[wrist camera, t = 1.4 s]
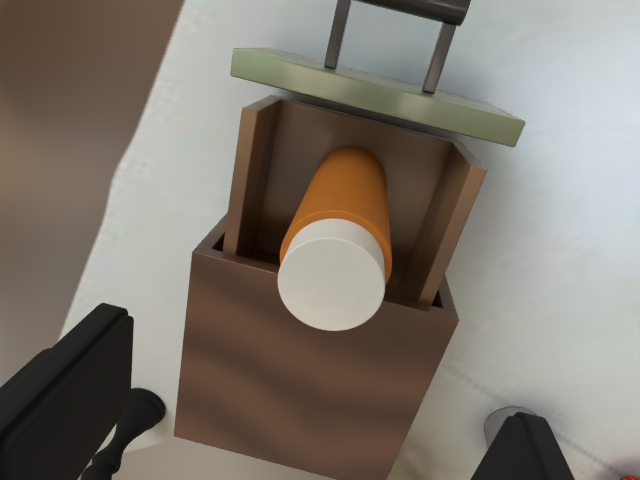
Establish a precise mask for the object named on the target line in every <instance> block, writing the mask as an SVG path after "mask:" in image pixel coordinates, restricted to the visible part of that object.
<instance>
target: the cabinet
mask: <svg viewBox="0 0 640 480" xmlns="http://www.w3.org/2000/svg"><path fill="white" fill-rule="evenodd" d="M227 215H228V212H227V214H226V215H225V216H224V217H223V218H222V219H221V220H220V221H219V222H218V224H217V225H216V226H215V227H214V228H213V229H212V230H211V231H210V233H209V234H208V235H207V236H206V237H205V238H204V239H203V240H202V241H201V243H200V244H199V245H198V246H197V247H196V248H195V249H194V250H193V252H192V261H191V271H190V280H189V290H188V300H187V310H186V320H185V329H184V339H183V349H182V359H181V368H180V378H179V388H178V398H177V408H176V417H175V427H174V436H175V437H179V438H183V439H186V440H190V441H194V442H198V443H202V444H205V445H209V446H213V447H217V448H220V449H224V450H228V451H232V452H235V453H240V454H243V455H247V456H250V457H254V458H258V459H262V460H266V461H269V462H273V463H277V464H281V465H284V466H288V467H292V468H296V469H300V470H303V471H307V472H311V473H315V474H318V475H322V476H326V477H330V478H334V479H338V480H386V479H387V477H388V475H389V473H390V471H391V468H392V466H393V464H394V462H395V460H396V458H397V455H398V453H399V451H400V449H401V447H402V444H403V442H404V440H405V438H406V436H407V433H408V431H409V429H410V427H411V425H412V422H413V420H414V418H415V416H416V414H417V411H418V409H419V407H420V405H421V403H422V401H423V398H424V396H425V394H426V392H427V390H428V387H429V385H430V383H431V381H432V379H433V376H434V374H435V372H436V370H437V368H438V365H439V363H440V361H441V359H442V357H443V354H444V352H445V350H446V348H447V346H448V344H449V341H450V339H451V337H452V335H453V333H454V330H455V328H456V326H457V324H458V322H459V319H458V315H457V313H456V309H455V306H454V302H453V299H452V296H451V293H450V289H449V286H448V283H447V279H446V276H445V274H444V276H443V279H442V281H441V284H440V286H439V288H438V291H437V293H436V296H435V298H434V300H433V303H432V305H431V306H430V305H427V304H423V303H419V302H415V301H411V300H407V299H403V298H400V297H396V296H392V295H388V294H384V298H383V301H382V303H381V305H380V307H379V309H378V310H377V311H376V313H375V314H374V315H373V316H372V317H371V318H370V319H369V320H367V321H366V322H364V323H363V324H361V325H359V326H357V327H354V328H351V329H347V330H341V331H328V330H322V329H318V328H314V327H312V326H309V325H307V324H305V323H303V322H302V321H300V320H299V319H297V318H296V317H295V316H294V315H293V314H292V313H291V312H290V311H289V310H288V309H287V307H286V306H285V304H284V303H283V301H282V299H281V296H280V293H279V289H278V273H279V269H280V266H276V265H272V264H268V263H264V262H260V261H256V260H253V259H249V258H245V257H241V256H237V255H233V254H229V253H225V252H222V251H223V244H224V237H225V230H226V222H227Z"/></svg>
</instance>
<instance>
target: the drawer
mask: <svg viewBox="0 0 640 480" xmlns="http://www.w3.org/2000/svg"><path fill="white" fill-rule="evenodd" d="M354 1H358V2H362V3H366V4H370V5H374V6H378V7H382V8H386V9H390V10H394V11H398V12H402V13H406V14H410V15H414V16H418V17H422V18H426V19H430V20H434V21H438V22H442V23H443V24H442V26H441V29H440V33H439V36H438V39H437V42H436V45H435V49H434V52H433V55H432V58H431V61H430V64H429V68H428V71H427V74H426V77H425V80H424V84H423V86H419V85H415V84H411V83H407V82H403V81H399V80H395V79H391V78H387V77H383V76H379V75H375V74H371V73H367V72H363V71H359V70H355V69H351V68H347V67H343V66H339V65H337V64H338V59H339V55H340V50H341V46H342V42H343V37H344V33H345V28H346V24H347V19H348V15H349V10H350V6H351V0H338V2H337V6H336V11H335V16H334V21H333V25H332V30H331V35H330V40H329V44H328V49H327V54H326V58H325V62H323V61H319V60H315V59H311V58H308V57H304V56H300V55H296V54H292V53H288V52H284V51H280V50H276V49H272V48H234V49H233V57H232V65H231V73H230V75H231V76H233V77H237V78H241V79H245V80H249V81H253V82H257V83H261V84H265V85H269V86H272V87H276V88H280V89H284V90H288V91H292V92H296V93H300V94H304V95H308V96H312V97H316V98H320V99H324V100H328V101H332V102H336V103H340V104H344V105H348V106H352V107H356V108H360V109H364V110H368V111H372V112H375V113H379V114H383V115H387V116H391V117H395V118H399V119H403V120H407V121H411V122H415V123H419V124H423V125H427V126H431V127H435V128H439V129H443V130H447V131H451V132H455V133H459V134H463V135H467V136H471V137H474V138H478V139H482V140H486V141H490V142H494V143H498V144H502V145H506V146H510V147H515V146H516V143H517V141H518V139H519V136H520V134H521V132H522V129H523V127H524V125H525V121H524V120H522V119H519V118H517V117H515V116H513V115H511V114H509V113H507V112H505V111H503V110H501V109H499V108H497V107H495V106H493V105H491V104H489V103H487V102H483V101H479V100H475V99H471V98H467V97H463V96H459V95H455V94H451V93H447V92H443V91H439V90H436V87H437V84H438V81H439V78H440V75H441V72H442V69H443V66H444V63H445V59H446V56H447V53H448V50H449V47H450V44H451V41H452V38H453V35H454V32H455V29H456V26H461V24H462V23H463V21H464V19H465V16H466V14H467V11H468V8H469V5H470V1H471V0H354ZM344 146H357V147H361V148H364V149H366V150H368V151H370V152H371V153H373V154H374V155H375V156H376V157H377V158H378V159H379V161H380V162H381V164H382V166H383V168H384V171H385V176H386V188H387V201H388V214H389V227H390V240H391V253H392V269H391V274H390V277H389V280H388V282H387V284H386V285H385V293H384V294H388V295H392V296H396V297H400V298H403V299H407V300H411V301H415V302H419V303H423V304H427V305H430V306H431V305H432V303H433V300H434V298H435V296H436V293H437V291H438V288H439V286H440V284H441V281H442V279H443V276H444V274H445V271H446V269H447V267H448V264H449V262H450V259H451V257H452V254H453V252H454V250H455V247H456V245H457V242H458V240H459V237H460V235H461V233H462V230H463V228H464V225H465V223H466V220H467V218H468V216H469V213H470V211H471V208H472V206H473V204H474V201H475V199H476V196H477V194H478V191H479V189H480V187H481V184H482V182H483V179H484V177H485V174H486V172H487V170H486V169H485V168H484V166H483V165H482V164H481V163H480V162H479V161H478V160H477V159H476V158H475V156H474V155H473V154H472V153H471V152H470V151H469V150H468V149H467V148H466V146H465V145H464V144H463V143H461V142H457V141H453V140H449V139H446V138H442V137H438V136H434V135H430V134H426V133H422V132H418V131H414V130H410V129H406V128H402V127H398V126H394V125H390V124H386V123H382V122H378V121H374V120H370V119H366V118H362V117H358V116H355V115H351V114H347V113H343V112H339V111H335V110H331V109H327V108H323V107H319V106H315V105H311V104H307V103H303V102H299V101H295V100H291V99H287V98H283V97H279V96H275V95H270V96H268V97H266V98H264V99H262V100H260V101H257V102H255V103H253V104H251V105H249V106H247V107H245V108H243V109H242V114H241V121H240V128H239V135H238V143H237V150H236V157H235V164H234V172H233V179H232V186H231V193H230V201H229V208H228V215H227V222H226V230H225V237H224V244H223V251H222V252H225V253H229V254H233V255H237V256H241V257H245V258H249V259H253V260H256V261H260V262H264V263H268V264H272V265H276V266H281V265H280V250H281V245H282V242H283V240H284V237H285V235H286V233H287V231H288V229H289V227H290V225H291V223H292V221H293V219H294V217H295V214H296V212H297V210H298V208H299V206H300V204H301V202H302V200H303V198H304V196H305V194H306V191H307V189H308V187H309V185H310V183H311V181H312V179H313V177H314V175H315V173H316V171H317V168H318V166H319V164H320V163H321V161H322V160H323V158H324V157H325V156H326V155H327V154H329V153H330V152H331V151H333V150H335V149H337V148H340V147H344Z"/></svg>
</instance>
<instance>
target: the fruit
mask: <svg viewBox="0 0 640 480" xmlns="http://www.w3.org/2000/svg"><path fill="white" fill-rule="evenodd" d="M621 480H640V477H636V476H627V477H625V478H623V479H621Z"/></svg>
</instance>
